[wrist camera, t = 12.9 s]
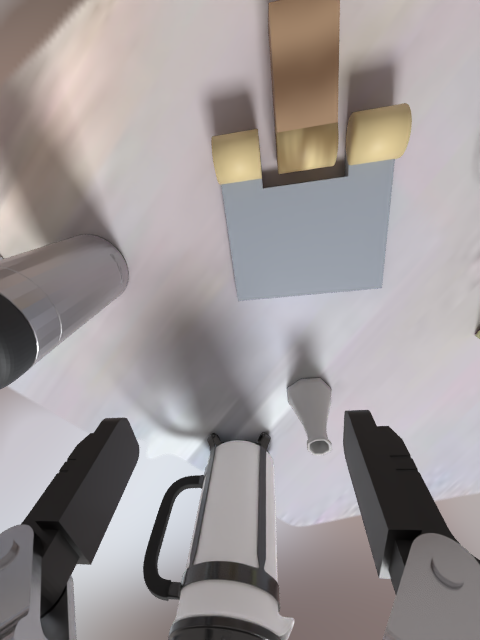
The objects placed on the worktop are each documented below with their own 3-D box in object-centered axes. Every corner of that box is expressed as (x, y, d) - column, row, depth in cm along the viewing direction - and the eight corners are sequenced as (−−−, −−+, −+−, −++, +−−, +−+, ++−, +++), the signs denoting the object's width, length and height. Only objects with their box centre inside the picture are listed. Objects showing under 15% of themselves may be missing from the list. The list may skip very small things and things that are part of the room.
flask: (337, 403, 46) (355, 458, 37) (295, 415, 47) (302, 470, 39) (323, 370, 43) (338, 421, 34) (279, 384, 45) (282, 436, 36)
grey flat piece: (377, 283, 36) (391, 297, 32) (239, 296, 38) (236, 310, 34) (393, 108, 28) (414, 97, 24) (216, 139, 30) (209, 133, 26)
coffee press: (235, 407, 48) (196, 698, 21) (298, 455, 52) (332, 748, 25) (175, 452, 54) (89, 716, 28) (235, 491, 59) (210, 753, 32)
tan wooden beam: (328, 166, 30) (337, 165, 27) (277, 174, 31) (279, 173, 27) (329, 13, 25) (341, -18, 21) (268, 26, 26) (268, -1, 22)
